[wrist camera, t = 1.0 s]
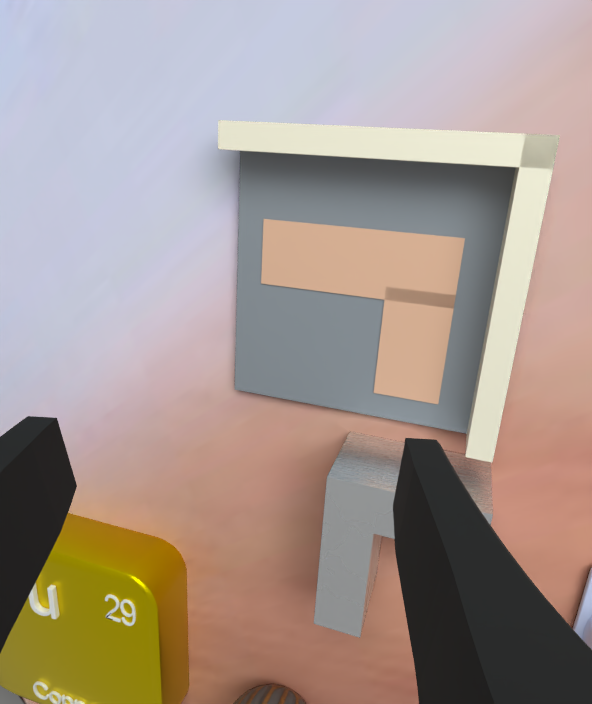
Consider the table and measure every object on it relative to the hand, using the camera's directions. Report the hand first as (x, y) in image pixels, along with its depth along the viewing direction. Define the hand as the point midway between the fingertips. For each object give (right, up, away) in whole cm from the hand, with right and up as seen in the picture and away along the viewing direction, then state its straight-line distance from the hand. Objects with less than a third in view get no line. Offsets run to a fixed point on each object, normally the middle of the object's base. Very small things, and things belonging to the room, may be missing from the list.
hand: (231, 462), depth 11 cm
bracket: (+8, -7, +19) cm, 22 cm away
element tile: (-13, -17, +30) cm, 37 cm away
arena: (+5, +6, +16) cm, 18 cm away
